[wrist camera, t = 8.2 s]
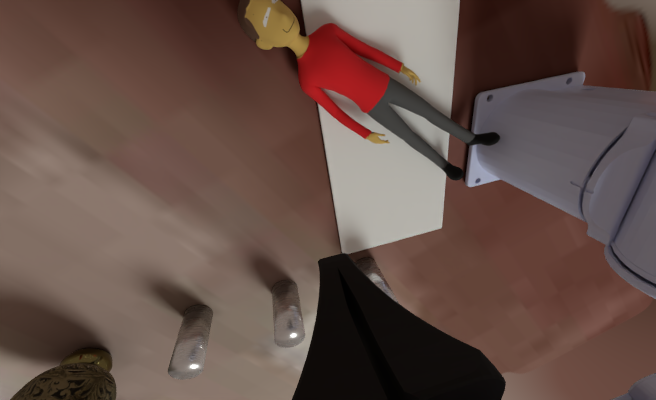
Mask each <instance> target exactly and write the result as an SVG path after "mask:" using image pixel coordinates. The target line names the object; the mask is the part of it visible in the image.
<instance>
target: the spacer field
mask: <svg viewBox="0 0 656 400" xmlns="http://www.w3.org/2000/svg"><path fill="white" fill-rule="evenodd" d="M355 264H356V265H357V267H358V268H359V269H360V270H361V271H362V272H363V273H364V274H365V275H366V276H367V277H368V278H369V279H370V280H371V281H372V282H373V283H374V284H375V285H377V286H378V287H379V288H380V289H381V290H382V291H383V292H385V293H386V294H387V295H388V296H389V297H391V298H392V299H393V300H394V301H396V302H397V303H398V301H397V299H396V297H395V295H394V294H393V292H392V290H391V288H390V287H389V285H388V283H387V281H386V280H385V278H384V276H383V274H382V273H381V271H380V269H379V267H378V265H377V264H376V262H375V260H374V259H372V258H362V259H360V260H358V261H357V262H356V263H355ZM272 301H273V320H274V338H275V343H276V344H277V345H278V346H280V347H285V348H287V347H293V346H296V345H298V344H299V343H301V342H302V341H303V340H304V338H305V330H304V324H303V318H302V312H301V306H300V300H299V294H298V288H297V285H296V284H295V283H294V282H292V281H289V280H285V281H280V282H278V283H277V284H275V285H274V287H273V288H272ZM398 304H399V303H398ZM212 317H213V311H212V310H211V309H210V308H209V307H207V306H204V305H195V306H192V307H190V308H188V309H187V310H186V311H185V313H184V317H183V320H182V324H181V327H180V330H179V334H178V337H177V341H176V344H175V347H174V351H173V354H172V358H171V361H170V365H169V368H168V374H169V375H170V376H171V377H173V378H176V379H191V378H194V377H196V376H198V375H199V374H200V373H201V372H202V371H203V367H204V361H205V356H206V350H207V345H208V339H209V334H210V328H211V323H212Z"/></svg>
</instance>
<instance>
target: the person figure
mask: <svg viewBox="0 0 656 400" xmlns="http://www.w3.org/2000/svg"><path fill="white" fill-rule="evenodd" d="M238 21H239V23H240V25H241V27H242V29H243V31H244V32H245V33H246V34H247V35H248V36H249V37H250V38H251V39H252V40H253V41H255V42H256V44H257V46H258V47H259V48H261V49H271V48H272V47H273V46H274V47H284V46H287V47H289V48H291V49H292V50H293V51H294V52H295V54H296V56H297V57H296V58H297V62H298V77H299V83H300V86H301V88H302V90H303V91H304V92H305V93H306V94H307V95H308V96H310V97H311V98H312V99H313V100H314V101H316V102H317V103H318V104H319V105H320V106H322V107H323V108H324V109H325V110H326V111H327V112H328V113H329V114H330V115H331V116H333V117H334V118H336V119H337V120H338V121H339V122H340V123H341V124H343V125H344V126H346V127H347V128H349V129H350V130H352V131H354V132H355V133H357V134H358V135H360V136H361V137H363V138H364V139H368V140H369V141H371V142H373V143H375V144H384V143H390V142H388V140H386V141H385V140H381V139H380V138H379V137H378V136H385V134H379V133H376V132H372V131H371V130H369V129H367V128H366V127H364V126H363V125H361V124H359V123H358V122H356V121H355V120H354V119H352V118H351V117H350V116H349V115H347V114H346V113H345V112H344V111H343V110H342V109H341V108H339V107H338V106H337V105H336V104H335V103H334V102H333V100H332V99H331V98H330V97H329V96H328V95H327V94H326V93H325V92H324V91H323V90H322V89H321V88H324V89H327V90H332V91H335V92H337V93H339V94H341V95H343V96H345V97H347V98H349V99H351V100H352V101H354V102H355V103H356V104H357V105H358V107H359V108H360V109H361V111H362V112H364V113H367V114H368V115H369V116H370V117H371V118H373V119H374V120H375V121H377V122H378V123H379V124H381V125H382V126H383V127H385V128H386V129H388V130H389V131H391V132H392V133H393V134H395V135H396V136H398V137H399V138H401V139H402V140H404V141H405V142H406V143H407V144H408V145H409V146H411V147H412V148H413V149H415V150H416V151H418V152H419V153H421V154H422V155H424V156H425V157H427V158H428V159H429V160H431V161H432V162H433V163H435V164H436V165H437V166H438V167H440V168H441V169H442V170H443V171H444V172H445V173H446V175H447V176H448V177H449V178H450V179H452V180H459V179H461V178H462V177H463V175H464V173H463V171H462V169H461V168H459V167H456V166H453V165H451V164H450V163H449V162H448V161H447V160H446V159H444V158H443V157H442V156H441V155H439V154H438V153H437V152H436V151H435V150H434V149H433V148H432V147H431V146H430V145H429V144H427V143H426V142H425V141H424V140H423V139H422V138H421V137H420V136H419V135H417V134H416V133H414V132H413V131H412V130H411V129H410V127H409V126H408V125H407V124H406V123H405V122H404V121H403V120H402V118H401V117H400V116H399V115H398V114H397V113H396V112H395V111H394V110H393V109H392V107H391V106H390V105H389V104H388V103H391V104H394V105H396V106H399V107H401V108H404V109H406V110H408V111H410V112H413V113H415V114H417V115H419V116H422V117H424V118H425V119H427V120H428V121H429V122H430V123H432V124H433V125H435V126H437V127H438V128H440V129H442V130H444V131H446V132H447V133H450V134H452V135H453V136H455V137H457V138H459V139H460V140H462V141H463V142H465V143H467V144H468V145H469V146H471V145H477V144H482V145H486V146H491V145H494V144H496V143H497V142H498V141H499V140H500V136H499V134H497V133H496V132H490V133H483V134H475V133H473V132H471V131H469V130H467V129H465V128H463V127H462V126H460V125H458V124H457V123H455V122H454V121H453V120H451V119H450V118H448V117H447V116H445V115H444V114H443V113H441V112H440V111H438V110H437V109H435V108H434V107H433V106H432V105H430V104H429V103H428V102H427V101H425V100H424V99H423V98H422V97H420V96H419V95H417V94H416V93H414V92H413V91H412V90H410V89H408V88H407V87H406V86H404V85H403V84H401V83H399V82H398V81H396V80H394V79H393V78H391V77H390V76H389V75H388V74H386V73H384V72H382V71H381V70H379V69H377V68H376V67H374V66H373V65H371V64H369V63H367V62H366V61H364V60H363V59H362V58H360V57H359V56H362V57H364V58H367V59H369V60H372V61H374V62H377V63H379V64H381V65H384V66H386V67H388V68H390V69H392V70H393V71H395V72H397V73H400V72H402V73H403V74H405V75H406V76H408V77H409V80H410V81H411V80H412V84H413V83H414V80H415V85H417V80H418V81H419V82H421V81H420V79H419V77H418V76H417V75H416V74H415V73H414V72H413V71H412V70H410V69H409V68H407V67H405V66H404V63H402V62H400V61H398V60H396V59H394V58H393V57H391V56H389V55H387V54H385V53H384V52H382V51H380V50H378V49H376V48H374V47H371V46H369V45H368V44H366V43H364V42H362V41H360V40H358V39H357V38H355V37H353V36H352V35H350V34H348V33H347V32H345V31H344V30H342V29H341V28H340V27H338V26H337V25H336V24H334V23H327V24H324V25H322V26H321V27H319V28H318V29H317V30H316V31H314V32H313V33H312V34H310V35H308V36H306V37H303V36H301V35H300V34H299V31H300V27H299V23H298V20H297V18H296V16H295V15H294V14H293V12H292V11H291V10H290V9H289V8H288V7H287V6H286V5H285V4H284V3H282V2H281V1H280V0H240V2H239V6H238ZM356 54H357V55H356ZM358 55H359V56H358Z"/></svg>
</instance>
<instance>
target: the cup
mask: <svg viewBox="0 0 656 400" xmlns="http://www.w3.org/2000/svg"><path fill="white" fill-rule="evenodd" d="M111 369H112V357H111V355H110V354H109V353H107V352H106V351H104V350H101V349H96V348H84V349H80V350H77V351H74V352H73V353H71V354H70V355H68V356H67V357H66V358H65V359H63V360H62V362H61V363H60V366H57V367H55V368H52V369H50V370H47V371H45V372H43V373H42V374H40V375H38V376H37V377H35V378H34V379H32V380H31V381H30V382H28V383H27V384H26V385H25V386H24V387H23V388H22V389H20V390H19V391H18V392H17V393H16V394H15V395H14V396H13V397H12V398H11V399H10V400H116V384H115V380H114V378H113V377H112V375H111V374H110V373H109V372H110V371H111Z"/></svg>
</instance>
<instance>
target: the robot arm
mask: <svg viewBox="0 0 656 400" xmlns="http://www.w3.org/2000/svg"><path fill="white" fill-rule="evenodd" d="M584 79H585V73H584V72H573V73H568V74H564V75H559V76H554V77H550V78H545V79H540V80H536V81H531V82H526V83H522V84H517V85H512V86H507V87H503V88H498V89H493V90H489V91H484V92H481V93H479V94H478V95H477V96H476V98H475V104H474V112H473V121H472V129H471V132H473V133H475V134H483V133H490V132H496V133H497V134H499V136H500V140H499V141H498V142H497V143H496V144H494V145H491V146H486V145H482V144H477V145H471V146H469V154H468V162H467V170H466V178H465V184H466V185H467V186H469V187H473V186H477V185H481V184H484V183H488V182H492V181H496V180H500V179H502V180H504V181H506V182H508V183H509V184H511V185H513V186H515V187H517V188H519V189H521V190H523V191H525V192H527V193H529V194H531V195H533V196H535V197H537V198H539V199H541V200H543V201H545V202H547V203H549V204H551V205H553V206H555V207H557V208H559V209H561V210H563V211H565V212H567V213H569V214H571V215H573V216H575V217H577V218H579V219H581V220H583V221H585V222H587V223H588V231H587V235H589V236H591V237H593V238H594V239H596V240H598V241H600V242H602V243H604V244H605V250H604V254H605V257H606V260H607V262H608V263H609V265H610V266H611V267H612V268H613V270H614V271H615V272H616V273H617V274H618V275H620V276H621V277H622V278H623V279H624V280H625V281H627V282H628V283H630V284H631V285H633V286H634V287H636V288H637V289H639V290H641V291H642V292H644V293H646V294H647V295H649V296H651V297H653V298H655V299H656V92H652V91H641V90H629V89H618V88H607V87H595V86H584V85H583V82H584ZM488 96H489V99H488V100H487V97H488ZM476 179H477V180H476ZM318 264H319V270H320V289H319V301H318V309H317V316H316V321H315V326H314V331H313V336H312V340H311V344H310V347H309V351H308V355H307V358H306V361H305V364H304V367H303V371H302V374H301V377H300V380H299V383H298V385H297V388H296V390H295V393H294V396H293V398H292V400H501V398H502V396H503V393H504V390H505V383H506V382H505V380H504V378H503V377H502V375H501V374H500V373H499V371H498V370H497V369H496V367H495V366H494V365H493V364H492V363H491V362H490V361H489V360H488V359H487V357H486V356H485V355H484V354H483V353H482V352H481V351H480V350H478V349H476V348H474V347H472V346H470V345H468V344H466V343H463V342H461V341H459V340H457V339H455V338H453V337H451V336H449V335H448V334H446V333H444V332H442V331H440V330H438V329H437V328H435V327H433V326H432V325H430V324H428V323H427V322H425V321H423V320H422V319H420V318H419V317H417V316H415V315H414V314H412V313H411V312H410V311H408V310H407V309H405V308H404V307H402V306H401V305H400V304H398V303H397V302H396V301H394V300H393V299H392V298H391V297H389V296H388V295H387V294H386V293H385V292H383V291H382V290H381V289H380V288H379V287H378V286H377V285H375V284H374V283H373V282H372V281H371V280H370V279H369V278H368V277H367V276H366V275H365V274H364V273H363V272H362V271H361V270H360V269H359V268H358V267H357V265H356V264H355V263H354V262H353V261H352V260H351V258H350V257H349V256H348V254H346V253H342V254H338V255H334V256H331V257H327V258H323V259H320V260H319V261H318ZM611 400H656V373H654V374H652V375H649V376H647V377H644V378H642V379H640V380H638V381H637V382H635V383H634V384H633V385H632V386H631V388H630V389H629V390H628V393H627V394H624V395H621V396H619V397H616V398H614V399H611Z"/></svg>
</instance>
